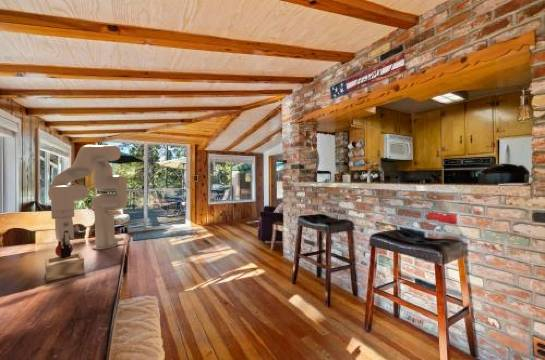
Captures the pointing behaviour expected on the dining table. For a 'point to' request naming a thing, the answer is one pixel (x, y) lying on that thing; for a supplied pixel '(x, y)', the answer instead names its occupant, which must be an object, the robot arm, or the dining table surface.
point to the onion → (58, 249)
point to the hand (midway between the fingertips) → (64, 255)
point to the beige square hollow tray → (64, 266)
